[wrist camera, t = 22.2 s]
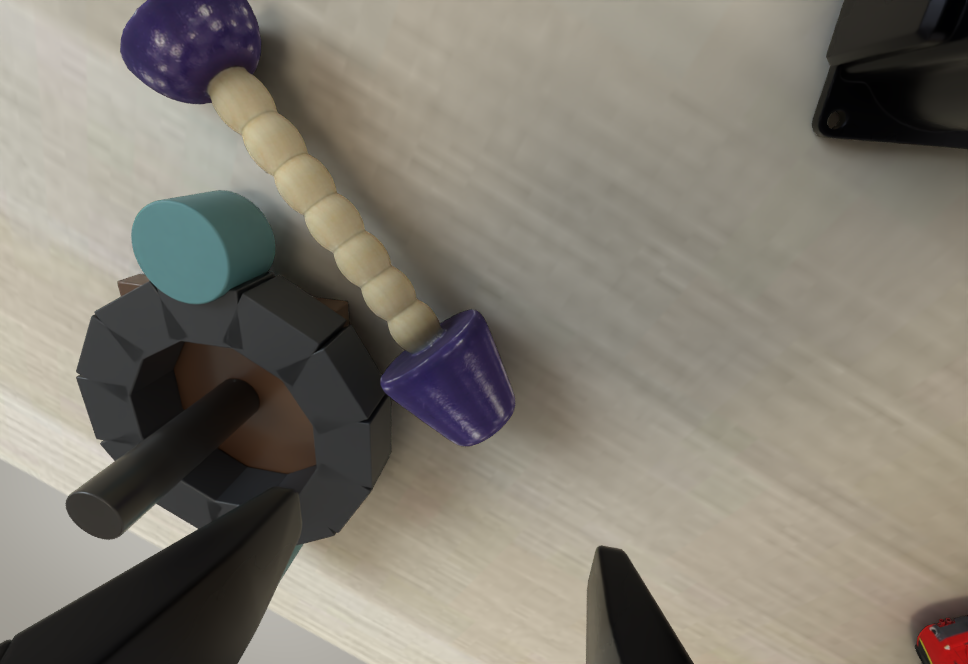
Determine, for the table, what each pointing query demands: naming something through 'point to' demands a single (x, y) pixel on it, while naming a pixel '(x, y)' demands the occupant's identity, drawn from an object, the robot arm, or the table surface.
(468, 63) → the table surface
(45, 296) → the table surface
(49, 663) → the robot arm
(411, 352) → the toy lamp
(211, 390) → the stand
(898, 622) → the table surface
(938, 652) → the race car
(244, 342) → the grey faceted ring
